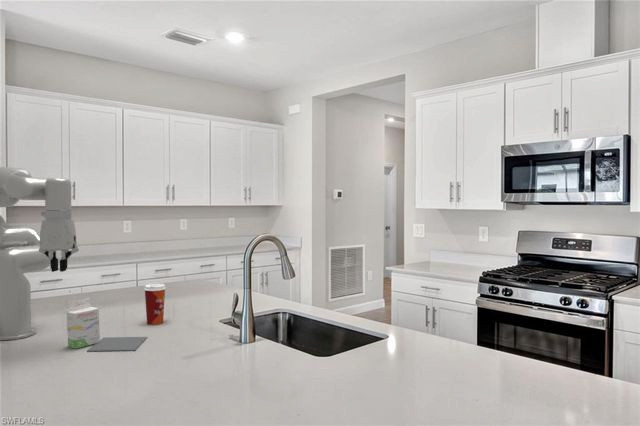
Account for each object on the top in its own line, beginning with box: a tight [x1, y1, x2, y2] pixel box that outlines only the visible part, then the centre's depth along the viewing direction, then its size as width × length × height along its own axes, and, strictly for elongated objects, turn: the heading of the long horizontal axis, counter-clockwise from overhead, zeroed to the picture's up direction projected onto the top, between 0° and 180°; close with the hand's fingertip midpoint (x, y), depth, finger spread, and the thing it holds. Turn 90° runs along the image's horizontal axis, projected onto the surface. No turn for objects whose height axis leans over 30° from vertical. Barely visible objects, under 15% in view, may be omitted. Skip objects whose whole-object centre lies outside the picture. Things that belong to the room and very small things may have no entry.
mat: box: [86, 336, 148, 353], centre depth 155 cm, size 15×14×1 cm
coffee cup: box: [143, 283, 167, 326], centre depth 183 cm, size 8×8×15 cm
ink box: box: [66, 297, 101, 350], centre depth 154 cm, size 9×5×15 cm, turn 143°
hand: (59, 270), depth 153 cm, fingers closed
